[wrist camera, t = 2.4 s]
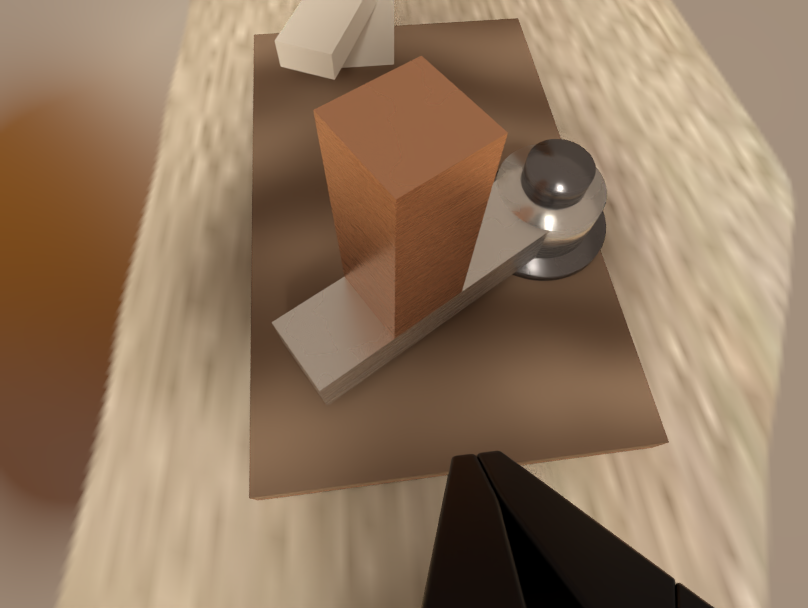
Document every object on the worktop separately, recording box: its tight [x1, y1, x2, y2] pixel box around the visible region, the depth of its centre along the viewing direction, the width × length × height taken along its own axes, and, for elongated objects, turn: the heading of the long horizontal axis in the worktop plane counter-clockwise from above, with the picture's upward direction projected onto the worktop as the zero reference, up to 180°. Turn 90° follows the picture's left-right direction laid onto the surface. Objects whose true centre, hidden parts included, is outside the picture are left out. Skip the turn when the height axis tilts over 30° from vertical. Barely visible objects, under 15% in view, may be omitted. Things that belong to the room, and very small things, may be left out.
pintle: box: [494, 139, 606, 281], centre depth 20 cm, size 6×6×4 cm
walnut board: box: [249, 18, 669, 500], centre depth 22 cm, size 24×15×1 cm, turn 7°
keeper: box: [275, 0, 394, 80], centre depth 23 cm, size 8×5×4 cm
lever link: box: [272, 56, 607, 406], centre depth 15 cm, size 4×14×10 cm, turn 127°
